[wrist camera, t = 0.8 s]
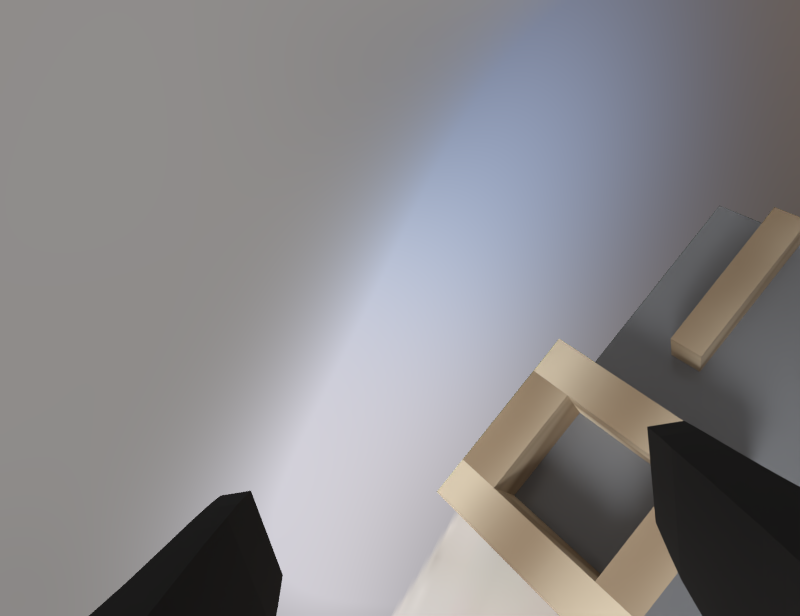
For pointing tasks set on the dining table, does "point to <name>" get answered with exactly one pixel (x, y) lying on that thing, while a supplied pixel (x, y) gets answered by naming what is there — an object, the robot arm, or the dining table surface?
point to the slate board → (680, 402)
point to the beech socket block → (520, 455)
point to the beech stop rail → (736, 289)
